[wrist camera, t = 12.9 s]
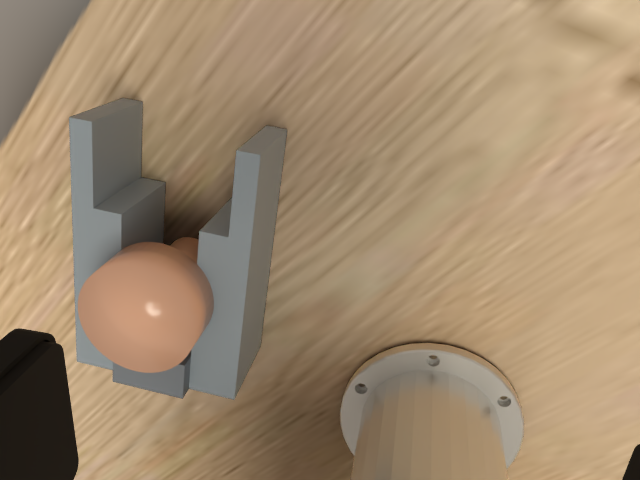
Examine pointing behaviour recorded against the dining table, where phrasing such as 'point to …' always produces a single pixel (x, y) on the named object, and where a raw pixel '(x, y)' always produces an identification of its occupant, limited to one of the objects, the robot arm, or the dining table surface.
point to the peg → (147, 305)
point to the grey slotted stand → (148, 226)
